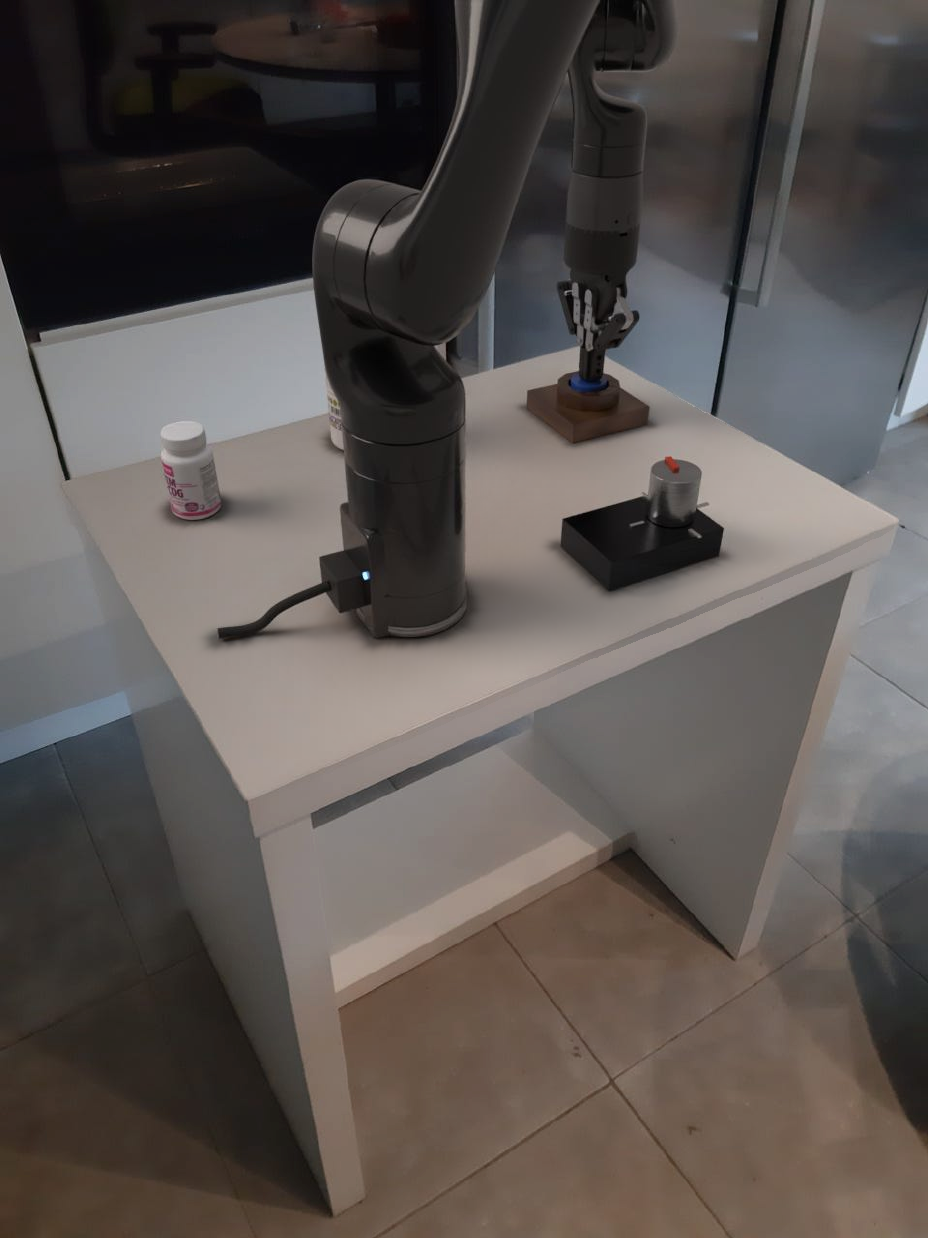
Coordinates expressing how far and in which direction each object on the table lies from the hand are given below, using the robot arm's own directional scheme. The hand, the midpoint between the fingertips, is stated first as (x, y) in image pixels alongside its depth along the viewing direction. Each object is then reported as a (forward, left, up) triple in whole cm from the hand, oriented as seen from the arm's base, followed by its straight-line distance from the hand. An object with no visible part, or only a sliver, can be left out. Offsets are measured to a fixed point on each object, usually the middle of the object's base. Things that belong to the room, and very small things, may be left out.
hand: (590, 379), depth 109 cm
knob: (-8, -26, -1) cm, 27 cm away
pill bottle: (-45, 0, -5) cm, 45 cm away
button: (0, 0, -2) cm, 2 cm away
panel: (-11, -26, -5) cm, 29 cm away
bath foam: (-25, +6, -5) cm, 26 cm away
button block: (0, 0, -5) cm, 5 cm away
